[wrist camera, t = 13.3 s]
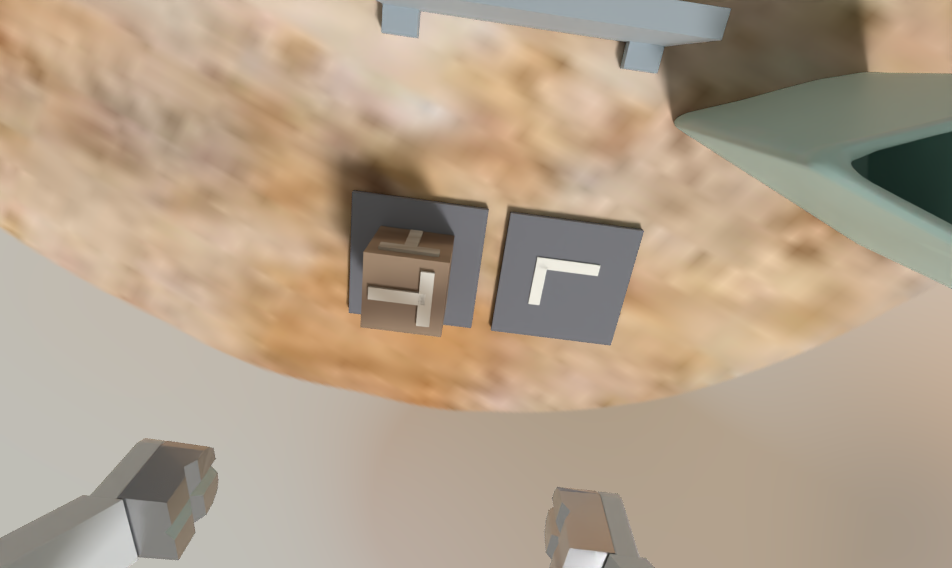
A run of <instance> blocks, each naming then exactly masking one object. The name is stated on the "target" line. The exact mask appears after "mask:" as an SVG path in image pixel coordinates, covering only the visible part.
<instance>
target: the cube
mask: <svg viewBox="0 0 952 568" xmlns="http://www.w3.org/2000/svg"><path fill="white" fill-rule="evenodd" d="M454 237H455V236H454V235H447V234H439V233H432V232H424V231H420V230H412V229H411V230H409V229H401V228H394V227H386V226H380V227H379V229H378V231H377V232H376V234H375V235H374V237H373V238H372V240H371V241H370V243H369V244H368V246H367V247H366V249H365V250H364V252H363V278H362V304H361V327H363V328H371V329H379V330H388V331H396V332H404V333H412V334H420V335H428V336H436V337H441V334H442V328H443V321H444V315H445V309H446V303H447V295H448V287H449V279H450V270H451V262H452V254H453V245H454Z"/></svg>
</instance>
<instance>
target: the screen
mask: <svg viewBox="0 0 952 568" xmlns="http://www.w3.org/2000/svg"><path fill="white" fill-rule="evenodd" d="M377 1H378V2H380V3H382V4H383V9H382V31H381V32H382V33H386V34H393V35H399V36H406V37H413V38H418V37H419V24H420V11H423V12H430V13H437V14H443V15H450V16H457V17H463V18H470V19H476V20H483V21H490V22H496V23H503V24H510V25H516V26H523V27H530V28H536V29H543V30H550V31H556V32H563V33H569V34H576V35H583V36H589V37H596V38H603V39H609V40H616V41H623V42H626V45H625V49H624V54H623V58H622V62H621V66H620V68H622V69H629V70H635V71H642V72H649V73H658V69H659V65H660V62H661V58H662V54H663V50H664V47H665V46H674V45H683V44H692V43H701V42H710V41H719V40H722V37H723V34H724V30H725V27H726V24H727V21H728V17H729V14H730V11H731V8H725V7H718V6H712V5H705V4H699V3H692V2H686V1H679V0H377Z"/></svg>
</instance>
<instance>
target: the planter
mask: <svg viewBox="0 0 952 568" xmlns="http://www.w3.org/2000/svg"><path fill="white" fill-rule="evenodd" d="M674 123H675V126H676V127H677V128H678V129H679V130H681V131H682V132H684V133H685V134H687V135H688V136H690V137H691V138H693V139H695V140H696V141H698V142H699V143H701V144H702V145H704V146H706V147H707V148H709V149H710V150H712V151H713V152H715V153H716V154H718V155H720V156H721V157H723V158H724V159H726V160H727V161H729V162H730V163H732V164H734V165H735V166H737V167H738V168H740V169H741V170H743V171H745V172H746V173H748V174H749V175H751V176H752V177H754V178H755V179H757V180H759V181H760V182H762V183H763V184H765V185H766V186H768V187H769V188H771V189H773V190H774V191H776V192H777V193H779V194H780V195H782V196H784V197H785V198H787V199H788V200H790V201H791V202H793V203H794V204H796V205H798V206H799V207H801V208H802V209H804V210H805V211H807V212H808V213H810V214H812V215H813V216H815V217H816V218H818V219H819V220H821V221H823V222H824V223H826V224H827V225H829V226H830V227H832V228H833V229H835V230H837V231H838V232H840V233H841V234H843V235H844V236H846V237H847V238H849V239H851V240H852V241H854V242H855V243H857V244H859V245H861V246H863V247H865V248H867V249H869V250H871V251H873V252H876V253H878V254H880V255H882V256H884V257H886V258H888V259H890V260H892V261H895V262H897V263H899V264H901V265H903V266H905V267H907V268H909V269H911V270H913V271H916V272H918V273H920V274H922V275H924V276H926V277H928V278H930V279H932V280H935V281H937V282H939V283H941V284H943V285H945V286H947V287H949V288H951V289H952V74H938V73H880V72H861V73H855V74H849V75H843V76H837V77H831V78H825V79H819V80H815V81H811V82H807V83H803V84H799V85H795V86H791V87H787V88H784V89H780V90H776V91H772V92H769V93H765V94H762V95H758V96H754V97H751V98H747V99H744V100H740V101H736V102H732V103H727V104H723V105H718V106H714V107H710V108H705V109H701V110H697V111H692V112H688V113H685V114H683V115H681V116H679V117H678V118H676V119H675V121H674Z"/></svg>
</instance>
